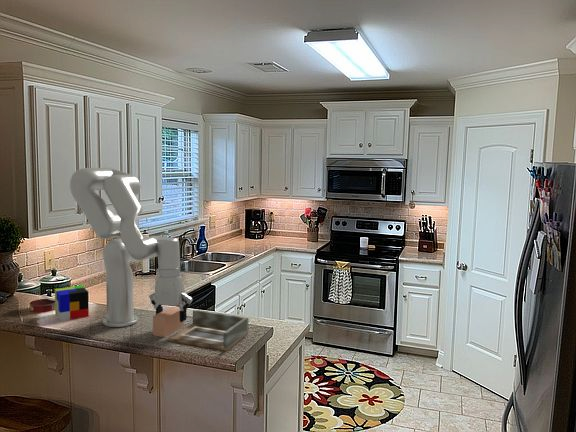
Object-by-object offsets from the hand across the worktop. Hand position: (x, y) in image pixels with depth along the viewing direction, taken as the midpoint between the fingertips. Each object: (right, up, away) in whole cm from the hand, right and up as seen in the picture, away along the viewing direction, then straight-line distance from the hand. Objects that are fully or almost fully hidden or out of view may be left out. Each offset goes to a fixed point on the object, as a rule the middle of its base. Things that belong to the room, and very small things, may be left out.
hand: (171, 319), depth 170 cm
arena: (+14, -5, -5) cm, 16 cm away
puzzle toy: (-42, -2, +15) cm, 45 cm away
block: (-1, -4, +1) cm, 4 cm away
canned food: (-57, -1, +21) cm, 60 cm away
